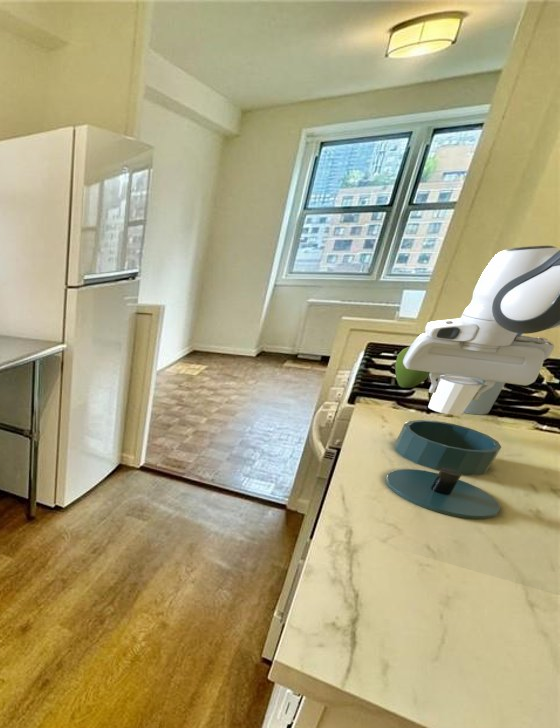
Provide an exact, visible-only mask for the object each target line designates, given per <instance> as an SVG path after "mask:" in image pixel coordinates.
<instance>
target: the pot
mask: <svg viewBox="0 0 560 728" xmlns="http://www.w3.org/2000/svg"><path fill="white" fill-rule="evenodd" d="M393 448H394V451H395V452H396V453H397V454H398V455H400V456H401V457H402V458H404V459H406V460H408V461H410V462H412V463H414V464H416V465H419V466H422V467H425V468H427V469H431V470H434V471H438V472H440V470H441V469H442V468H449V469H453V470H456V471H458V472H460V473H461V476H480V475H484V474H486V472H488V471H489V469H490V467H491V466H492V464H493V462H494V460H495V459H496V457H497V456H498V454H499V453H500V451H501V449H502V445H501V443H500V442H499V441H498V440H496V439H495V438H494V437H492V436H489V435H488V434H486V433H484V432H481V431H479V430H476V429H474V428H470V427H467V426H463V425H459V424H455V423H450V422H444V421H439V420H426V419H417V420H408V421H407V422H405V423H404V424H403V426H402V428H401V430H400V433H399V435H398V436H397V438H396V440H395V443H394V444H393Z"/></svg>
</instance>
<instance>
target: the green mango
mask: <svg viewBox="0 0 560 728" xmlns="http://www.w3.org/2000/svg"><path fill="white" fill-rule="evenodd" d="M410 346H411V345H409V346H407V347H405V348H403V349H402V350H401V351H400V352H399V353H398V354H397V357H396V360H395V363H394V368H395V369H394V370H395V379H396V381H397V385H398V386H399V387H400V388H403V389H404V388H405V389H411V388H414V387H416V386H418V385H420V384H422V383H423V382H425V381H426V380H427V379H428V378H430V376H429V374H430V372H425V371H418V370H411V369H407V368H406V367H405V366H404V364H403V359H404V357H405V355H406V353H407V351H408V350H409V348H410Z"/></svg>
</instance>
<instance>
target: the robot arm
mask: <svg viewBox="0 0 560 728" xmlns="http://www.w3.org/2000/svg"><path fill="white" fill-rule="evenodd" d="M558 328H560V249H559V247H557V246H554V245H532V246H531V245H530V246H518V247H516V246H515V247H509V248H506V249H503V250H502V251H499V252H497V254H495V255H494V257H492V259H491V260H490V261H489V262H488V265H487V266H486V267H485V269H484V270H483V272H482V274H481V276H480V278H479V279H478V281H477V283H476V285H475V287H474V290H473V291H472V298H471V301H470V303H469V304H468V306H467V307H466V308H465V309H464V311H463V312H462V314H461V316H460V317H457V318H451V319H442V320H435V321H430V322H427V324H426V326H425V329H424V332H425V333H422V334H420V335H419V336H416V338H415V339H414V341H412V344H411V345H409V346H410V348H409V350H408V351H407V353H406V355H405V357H404V359H403V364H404V366H405V367H406V368H407V369H411V370H418V371H425V372H430V374H429V379H430V383H431V384H430V386H429V389H428V393H431V394H433V393H435V392H436V390H437V387H438V386H437V379H438V378H439V377H440V375H454V376H461V377H468V378H475V379H483V381H482V382H483V383H484V384H483V385H482V386H481V387H480V389H479V390H478V391H477V393H476V394H475V396H474V397H473V400H478V398H479V397H480V395H481V393H483V392H485V391H486V390H488V389H490V388H491V387H493V386H494V384H495V382H496V381H497V382H504V383H505V384H512V385H519V386H529V385H531V384H533V383H535V382H536V380H537V379H538V376H539V375H540V372H541V370H542V368H543V364H544V361H545V360H547V359H548V358H549V357H550V356H551V354H552V353H553V351H554V349H555V345H554V343H553V342H552V341H551V340H548V339H549V338H546V337H541V336H540V337H535V336H529V335H527V334H535V333H539V332H544V331H547V330H550V329H558ZM517 333H521V334H522V336H521V335H517ZM523 334H524V335H523ZM525 334H526V335H525Z"/></svg>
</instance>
